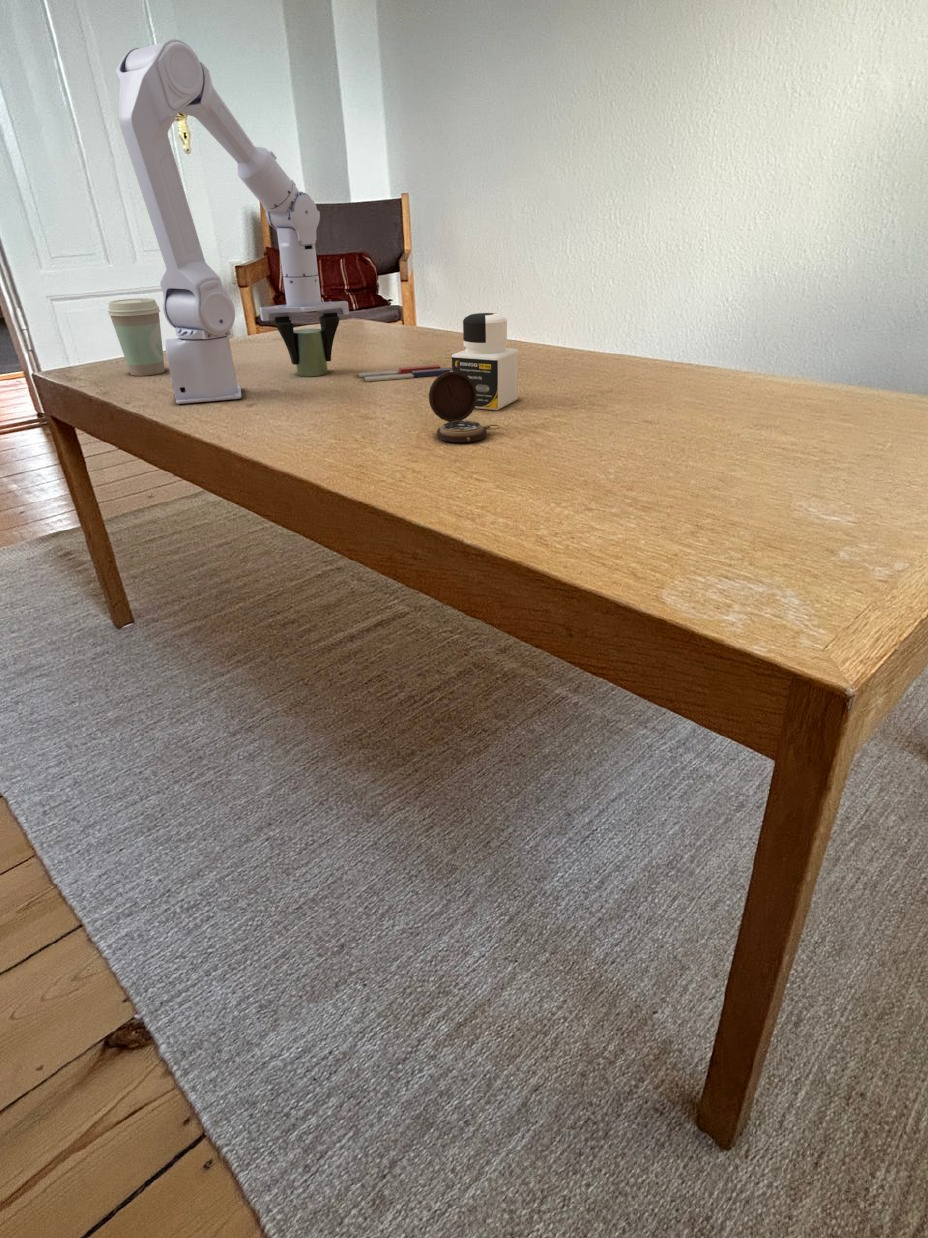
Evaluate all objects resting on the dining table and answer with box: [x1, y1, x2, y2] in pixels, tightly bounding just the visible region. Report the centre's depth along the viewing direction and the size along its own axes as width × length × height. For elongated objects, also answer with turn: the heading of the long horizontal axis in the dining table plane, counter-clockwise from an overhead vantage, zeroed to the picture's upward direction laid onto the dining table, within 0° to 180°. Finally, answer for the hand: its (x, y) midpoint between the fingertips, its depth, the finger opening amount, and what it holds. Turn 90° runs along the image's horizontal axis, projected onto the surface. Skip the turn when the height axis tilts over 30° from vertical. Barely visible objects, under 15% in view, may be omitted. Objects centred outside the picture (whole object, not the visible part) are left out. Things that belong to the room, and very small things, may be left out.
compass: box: [428, 370, 501, 443], centre depth 92 cm, size 8×8×7 cm
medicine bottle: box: [451, 312, 519, 411], centre depth 105 cm, size 7×7×12 cm
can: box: [294, 328, 329, 378], centre depth 129 cm, size 5×5×7 cm
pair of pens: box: [357, 364, 441, 379], centre depth 128 cm, size 14×2×1 cm, turn 105°
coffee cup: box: [107, 297, 166, 377], centre depth 132 cm, size 8×8×12 cm
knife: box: [364, 367, 452, 383], centre depth 125 cm, size 15×2×1 cm, turn 105°
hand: (311, 362), depth 129 cm, fingers closed on can, 5 cm apart
